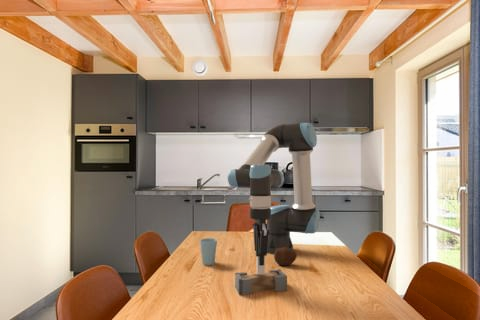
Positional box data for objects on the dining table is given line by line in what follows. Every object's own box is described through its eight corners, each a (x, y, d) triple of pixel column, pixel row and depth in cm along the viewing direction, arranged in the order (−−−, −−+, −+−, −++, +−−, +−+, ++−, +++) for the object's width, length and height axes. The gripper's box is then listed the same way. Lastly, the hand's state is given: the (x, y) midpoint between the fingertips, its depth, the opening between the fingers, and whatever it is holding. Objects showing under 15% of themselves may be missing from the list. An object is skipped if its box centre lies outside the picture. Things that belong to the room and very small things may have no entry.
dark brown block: (275, 285, 115) (275, 272, 115) (279, 289, 112) (279, 275, 112) (240, 289, 111) (240, 275, 111) (243, 293, 108) (243, 279, 108)
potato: (273, 262, 141) (273, 245, 142) (295, 262, 141) (295, 245, 141) (275, 267, 134) (275, 249, 134) (298, 268, 134) (297, 249, 134)
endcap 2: (280, 282, 117) (280, 269, 117) (287, 290, 110) (287, 276, 110) (269, 283, 116) (269, 270, 116) (275, 291, 109) (275, 277, 109)
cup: (219, 264, 138) (219, 241, 139) (202, 267, 135) (202, 243, 136) (213, 260, 145) (213, 237, 146) (197, 262, 142) (197, 239, 143)
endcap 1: (239, 294, 106) (239, 280, 106) (235, 286, 113) (235, 272, 114) (251, 293, 107) (251, 279, 107) (246, 285, 114) (246, 271, 114)
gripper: (246, 205, 118) (246, 268, 117) (254, 210, 105) (255, 280, 105) (265, 204, 119) (265, 266, 119) (276, 209, 107) (276, 279, 106)
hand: (260, 273), depth 112 cm, fingers closed
